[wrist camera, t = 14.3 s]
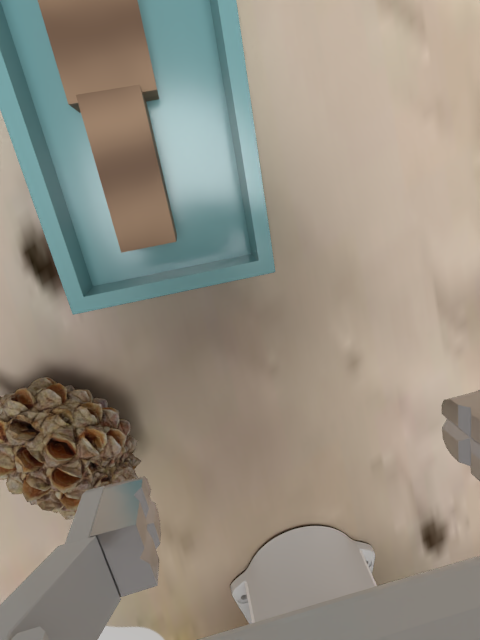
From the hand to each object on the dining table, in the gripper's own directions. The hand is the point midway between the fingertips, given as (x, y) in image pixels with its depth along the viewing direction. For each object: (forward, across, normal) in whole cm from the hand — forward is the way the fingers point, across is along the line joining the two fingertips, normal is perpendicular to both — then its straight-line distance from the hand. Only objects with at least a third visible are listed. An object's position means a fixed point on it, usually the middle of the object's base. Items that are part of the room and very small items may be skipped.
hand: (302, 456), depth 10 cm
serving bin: (+25, -4, +13) cm, 28 cm away
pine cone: (+26, -19, -7) cm, 33 cm away
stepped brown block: (+25, -4, +13) cm, 28 cm away
